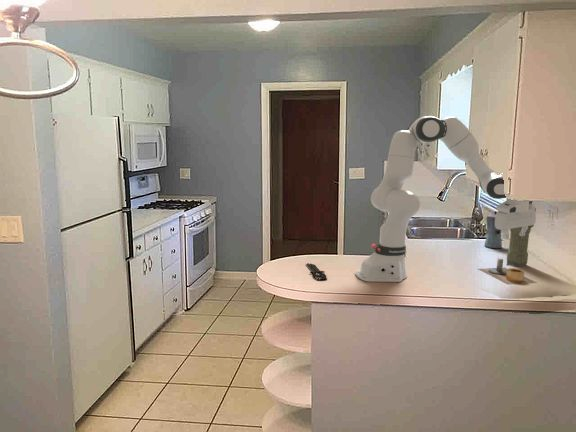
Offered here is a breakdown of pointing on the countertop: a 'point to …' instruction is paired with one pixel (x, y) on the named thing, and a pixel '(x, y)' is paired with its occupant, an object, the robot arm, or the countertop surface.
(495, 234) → the moka pot
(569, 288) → the countertop surface
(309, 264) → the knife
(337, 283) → the countertop surface
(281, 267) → the countertop surface
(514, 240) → the thermos
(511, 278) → the coil ring
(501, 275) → the bobbin board
